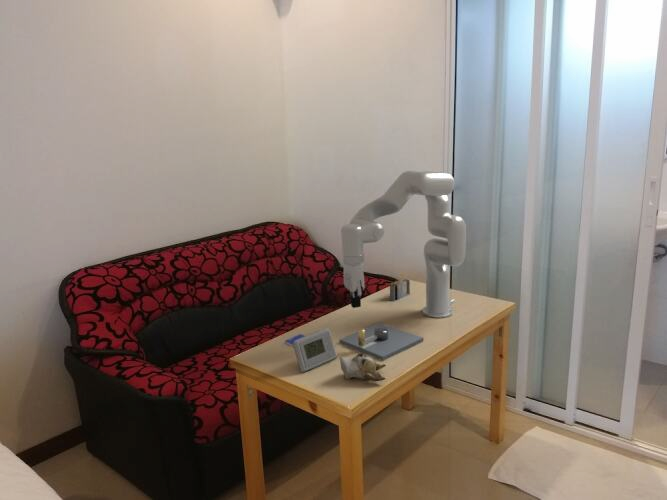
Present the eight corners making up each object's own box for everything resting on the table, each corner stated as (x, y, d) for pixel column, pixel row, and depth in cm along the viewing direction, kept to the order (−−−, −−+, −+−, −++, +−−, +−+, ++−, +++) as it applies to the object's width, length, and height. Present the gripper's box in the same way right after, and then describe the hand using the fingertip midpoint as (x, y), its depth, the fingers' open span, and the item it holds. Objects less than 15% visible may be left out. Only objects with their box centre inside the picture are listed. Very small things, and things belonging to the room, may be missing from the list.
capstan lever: (381, 333, 211) (380, 318, 209) (390, 337, 207) (390, 322, 205) (354, 344, 202) (354, 328, 200) (364, 348, 198) (363, 332, 197)
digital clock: (300, 374, 185) (298, 345, 182) (288, 364, 193) (286, 336, 190) (342, 362, 193) (341, 333, 190) (329, 353, 201) (327, 325, 198)
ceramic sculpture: (341, 345, 185) (386, 348, 184) (340, 369, 188) (385, 371, 186) (338, 360, 175) (386, 363, 174) (337, 384, 177) (385, 388, 176)
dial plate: (379, 326, 223) (379, 321, 222) (423, 341, 207) (423, 336, 207) (339, 342, 208) (339, 338, 208) (383, 360, 193) (383, 355, 192)
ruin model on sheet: (395, 302, 250) (395, 281, 247) (390, 301, 252) (389, 280, 249) (410, 295, 257) (410, 275, 255) (405, 294, 260) (405, 274, 257)
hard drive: (284, 340, 210) (307, 349, 202) (301, 333, 216) (323, 342, 207) (285, 344, 211) (307, 353, 202) (301, 337, 216) (323, 346, 208)
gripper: (336, 255, 206) (339, 301, 211) (350, 265, 192) (353, 315, 197) (356, 252, 208) (358, 298, 213) (370, 262, 194) (373, 311, 199)
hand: (356, 306), depth 205 cm, fingers closed
